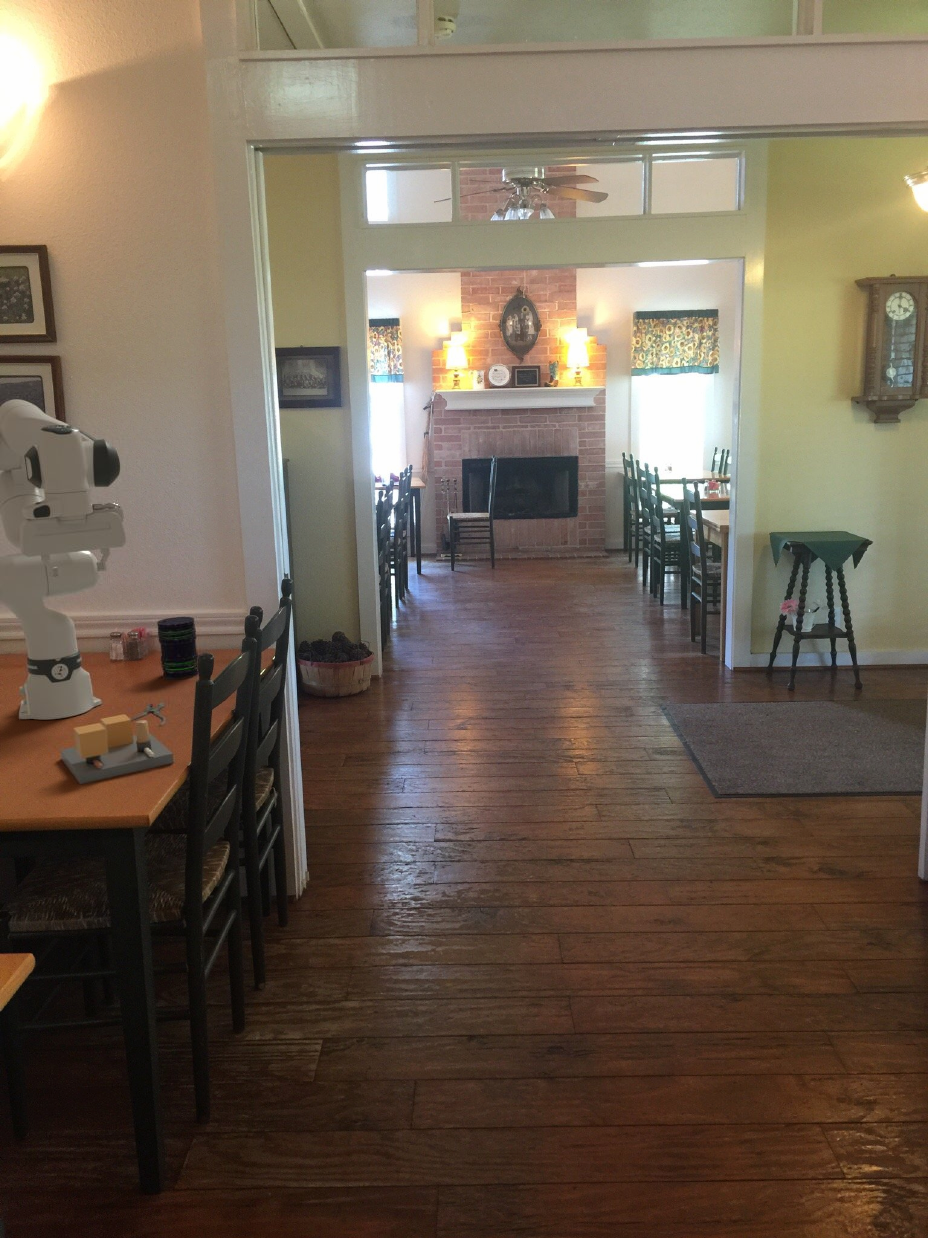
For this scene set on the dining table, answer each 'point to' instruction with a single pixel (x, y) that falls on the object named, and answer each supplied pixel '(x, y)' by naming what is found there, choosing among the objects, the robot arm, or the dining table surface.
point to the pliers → (153, 710)
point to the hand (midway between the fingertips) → (78, 573)
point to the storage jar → (178, 647)
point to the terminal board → (113, 753)
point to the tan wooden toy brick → (118, 730)
